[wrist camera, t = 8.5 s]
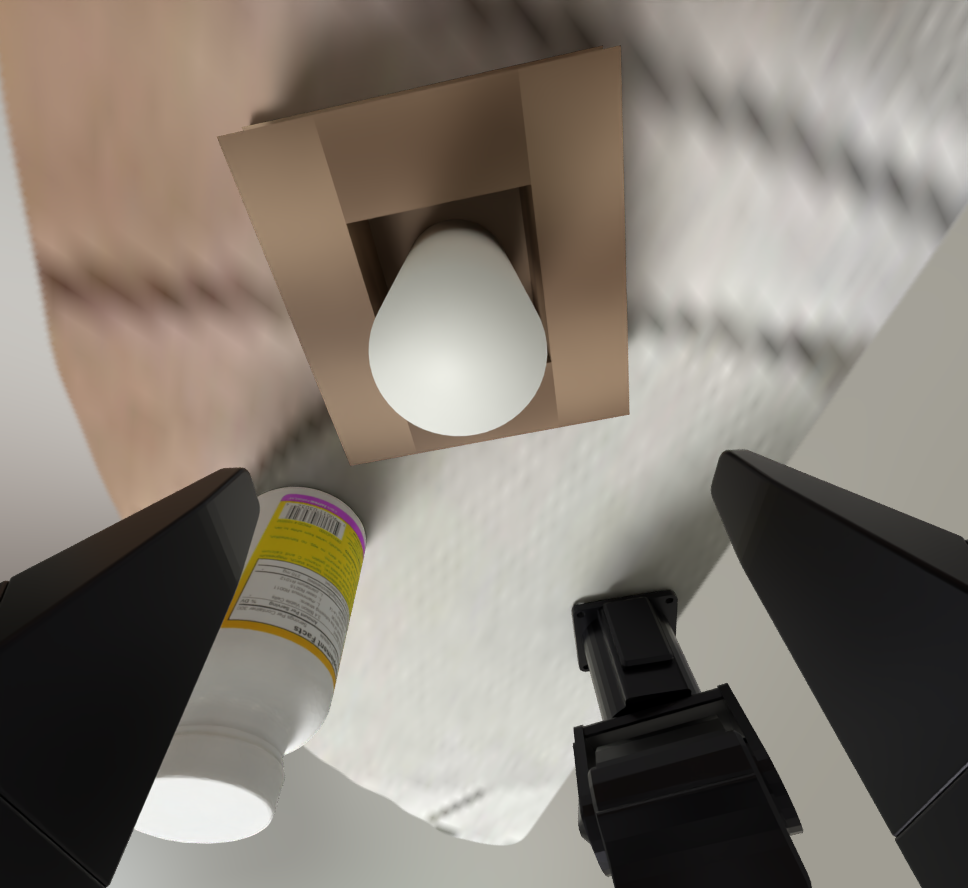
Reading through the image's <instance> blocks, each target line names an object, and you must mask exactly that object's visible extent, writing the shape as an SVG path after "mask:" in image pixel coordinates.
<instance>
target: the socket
mask: <svg viewBox="0 0 968 888" xmlns="http://www.w3.org/2000/svg"><path fill="white" fill-rule="evenodd" d="M242 129H243V131H240V132H236V133H232V134H227V135H223V136H218V137H217V139H218V141H219V144H220V146H221V149H222V151H223V153H224V156H225V158H226V161H227V163H228V166H229V168H230V171H231V173H232V176H233V178H234V181H235V183H236V185H237V188H238V190H239V193H240V195H241V198H242V200H243V203H244V205H245V208H246V210H247V213H248V215H249V217H250V220H251V222H252V225H253V227H254V230H255V232H256V235H257V237H258V240H259V242H260V245H261V247H262V250H263V252H264V254H265V257H266V259H267V262H268V264H269V267H270V269H271V272H272V274H273V277H274V279H275V282H276V284H277V286H278V289H279V291H280V294H281V296H282V299H283V301H284V304H285V306H286V309H287V311H288V314H289V316H290V318H291V321H292V323H293V326H294V328H295V331H296V333H297V336H298V338H299V341H300V343H301V346H302V348H303V350H304V353H305V355H306V358H307V360H308V363H309V365H310V368H311V370H312V373H313V375H314V378H315V380H316V383H317V385H318V387H319V390H320V392H321V395H322V397H323V400H324V402H325V405H326V407H327V410H328V412H329V415H330V417H331V419H332V422H333V424H334V427H335V429H336V432H337V434H338V437H339V439H340V442H341V444H342V447H343V449H344V451H345V454H346V456H347V459H348V461H349V464H350V466H353V465H358V464H363V463H369V462H374V461H380V460H385V459H391V458H396V457H401V456H407V455H412V454H418V453H423V452H428V451H434V450H439V449H445V448H450V447H456V446H461V445H466V444H472V443H477V442H483V441H488V440H494V439H499V438H504V437H510V436H515V435H521V434H526V433H532V432H537V431H542V430H548V429H553V428H559V427H564V426H569V425H575V424H580V423H586V422H591V421H597V420H602V419H607V418H613V417H618V416H624V415H629V376H628V334H627V292H626V250H625V207H624V165H623V123H622V81H621V45H620V46H615V47H611V48H607V49H603V45H602V46H598V47H594V48H589V49H585V50H580V51H576V52H572V53H567V54H563V55H558V56H554V57H550V58H545V59H541V60H536V61H532V62H528V63H523V64H519V65H514V66H510V67H506V68H501V69H497V70H492V71H488V72H484V73H479V74H475V75H470V76H466V77H462V78H457V79H453V80H448V81H444V82H439V83H435V84H431V85H426V86H422V87H417V88H413V89H409V90H404V91H400V92H395V93H391V94H387V95H382V96H378V97H373V98H369V99H365V100H360V101H356V102H351V103H347V104H343V105H338V106H334V107H329V108H325V109H321V110H316V111H312V112H307V113H303V114H299V115H294V116H290V117H285V118H281V119H277V120H272V121H268V122H263V123H259V124H254V125H250V126H246V127H242ZM451 219H463V220H468V221H472V222H475V223H477V224H479V225H481V226H483V227H484V228H486V229H487V230H489V231H490V232H491V233H492V234H493V235H494V236H495V237H496V238H497V240H498V241H499V243H500V244H501V246H502V247H503V249H504V251H505V253H506V255H507V257H508V259H509V261H510V262H511V264H512V266H513V268H514V270H515V272H516V274H517V276H518V277H519V279H520V281H521V283H522V285H523V287H524V289H525V291H526V293H527V294H528V296H529V298H530V300H531V302H532V304H533V306H534V308H535V309H536V311H537V313H538V316H539V318H540V320H541V322H542V325H543V328H544V331H545V336H546V341H547V362H546V368H545V372H544V376H543V379H542V382H541V384H540V386H539V388H538V390H537V392H536V394H535V396H534V397H533V398H532V400H531V401H530V403H529V404H528V405H527V406H526V407H525V408H524V409H523V410H522V411H521V412H520V413H519V414H518V415H517V416H516V417H514V418H513V419H512V420H510V421H509V422H507V423H506V424H504V425H502V426H500V427H498V428H496V429H493V430H490V431H488V432H485V433H480V434H476V435H469V436H449V435H442V434H437V433H433V432H430V431H427V430H424V429H422V428H420V427H418V426H416V425H414V424H412V423H410V422H409V421H407V420H406V419H404V418H403V417H402V416H400V415H399V414H398V413H397V412H396V411H395V410H394V409H393V408H392V407H391V406H390V405H389V404H388V403H387V401H386V400H385V399H384V397H383V396H382V394H381V393H380V391H379V389H378V387H377V385H376V383H375V380H374V378H373V375H372V371H371V367H370V361H369V339H370V333H371V329H372V326H373V323H374V320H375V318H376V316H377V314H378V312H379V310H380V308H381V306H382V304H383V302H384V300H385V298H386V296H387V294H388V292H389V290H390V288H391V287H392V285H393V283H394V281H395V279H396V277H397V275H398V273H399V271H400V269H401V267H402V265H403V264H404V262H405V260H406V258H407V256H408V254H409V252H410V250H411V248H412V246H413V244H414V243H415V241H416V240H417V238H418V237H419V236H420V235H421V234H422V233H423V232H424V231H425V230H427V229H428V228H429V227H431V226H433V225H434V224H437V223H439V222H442V221H445V220H451Z"/></svg>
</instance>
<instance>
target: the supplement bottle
mask: <svg viewBox="0 0 968 888" xmlns="http://www.w3.org/2000/svg"><path fill="white" fill-rule="evenodd" d="M258 500H259V503H260V514H259V518H258V522H257V525H256V528H255V532H254V535H253V539H252V542H251V545H250V549H249V552H248V555H247V559H246V562H245V565H244V569H243V572H242V575H241V578H240V581H239V584H238V587H237V589H236V592H235V594H234V597H233V599H232V602H231V604H230V606H229V609H228V611H227V613H226V616H225V618H224V620H223V623H222V625H221V627H220V630H219V632H218V634H217V637H216V639H215V641H214V643H213V646H212V648H211V650H210V653H209V655H208V657H207V660H206V662H205V664H204V667H203V669H202V671H201V674H200V676H199V678H198V681H197V683H196V685H195V688H194V690H193V692H192V695H191V697H190V699H189V702H188V704H187V706H186V709H185V711H184V713H183V716H182V718H181V720H180V723H179V725H178V727H177V730H176V732H175V734H174V737H173V739H172V741H171V744H170V746H169V748H168V750H167V753H166V755H165V757H164V760H163V762H162V764H161V767H160V769H159V771H158V774H157V776H156V778H155V781H154V783H153V785H152V788H151V790H150V792H149V795H148V797H147V799H146V802H145V804H144V806H143V809H142V811H141V813H140V816H139V818H138V820H137V823H136V825H135V827H134V829H135V830H138V831H140V832H143V833H146V834H149V835H152V836H155V837H159V838H162V839H166V840H172V841H178V842H186V843H223V842H230V841H236V840H239V839H243V838H246V837H250V836H252V835H254V834H256V833H258V832H260V831H262V830H263V829H264V828H266V827H267V826H268V825H269V823H270V822H271V820H272V818H273V816H274V813H275V809H276V806H277V802H278V799H279V795H280V792H281V789H282V786H283V783H284V780H285V774H284V769H283V768H284V763H283V756H284V755H286V754H288V753H290V752H292V751H294V750H296V749H298V748H299V747H301V746H302V745H304V744H305V743H306V742H308V741H309V740H310V739H311V738H312V737H313V736H314V735H315V734H316V732H317V731H318V730H319V729H320V727H321V726H322V724H323V723H324V721H325V719H326V717H327V715H328V712H329V709H330V706H331V701H332V697H333V693H334V689H335V684H336V679H337V675H338V670H339V665H340V661H341V656H342V652H343V647H344V643H345V639H346V634H347V630H348V625H349V621H350V616H351V612H352V608H353V603H354V599H355V594H356V590H357V585H358V581H359V577H360V572H361V568H362V563H363V559H364V553H365V548H366V536H365V531H364V528H363V525H362V523H361V521H360V520H359V518H358V517H357V515H356V514H355V513H354V512H353V511H352V509H351V508H349V507H348V506H347V505H346V504H345V503H344V502H342V501H341V500H339V499H338V498H336V497H334V496H332V495H330V494H328V493H325V492H323V491H319V490H316V489H311V488H305V487H285V488H279V489H275V490H271V491H268V492H266V493H264V494H261V495H259V496H258Z"/></svg>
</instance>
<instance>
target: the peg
mask: <svg viewBox="0 0 968 888" xmlns="http://www.w3.org/2000/svg"><path fill="white" fill-rule="evenodd" d="M369 361H370V367H371V371H372V375H373V378H374V380H375V383H376V385H377V387H378V389H379V391H380V393H381V394H382V396H383V397H384V399H385V400H386V401H387V403H388V404H389V405H390V406H391V407H392V408H393V409H394V410H395V411H396V412H397V413H398V414H399V415H400V416H402V417H403V418H404V419H406V420H407V421H409V422H410V423H412V424H414V425H416V426H418V427H420V428H422V429H424V430H427V431H430V432H433V433H437V434H442V435H449V436H469V435H476V434H480V433H485V432H488V431H490V430H493V429H496V428H498V427H500V426H502V425H504V424H506V423H507V422H509V421H510V420H512V419H513V418H514V417H516V416H517V415H518V414H519V413H520V412H521V411H522V410H523V409H524V408H525V407H526V406H527V405H528V404H529V403H530V401H531V400H532V398H533V397H534V396H535V394H536V392H537V390H538V388H539V386H540V384H541V382H542V379H543V376H544V372H545V368H546V362H547V341H546V336H545V331H544V328H543V325H542V322H541V320H540V318H539V316H538V313H537V311H536V309H535V308H534V306H533V304H532V302H531V300H530V298H529V296H528V294H527V293H526V291H525V289H524V287H523V285H522V283H521V281H520V279H519V277H518V276H517V274H516V272H515V270H514V268H513V266H512V264H511V262H510V261H509V259H508V257H507V255H506V253H505V251H504V249H503V247H502V246H501V244H500V243H499V241H498V240H497V238H496V237H495V236H494V235H493V234H492V233H491V232H490V231H489V230H487V229H486V228H484V227H483V226H481V225H479V224H477V223H475V222H472V221H468V220H463V219H451V220H445V221H442V222H439V223H437V224H434V225H433V226H431V227H429V228H428V229H427V230H425V231H424V232H423V233H422V234H421V235H420V236H419V237H418V238H417V240H416V241H415V243H414V244H413V246H412V248H411V250H410V252H409V254H408V256H407V258H406V260H405V262H404V264H403V265H402V267H401V269H400V271H399V273H398V275H397V277H396V279H395V281H394V283H393V285H392V287H391V288H390V290H389V292H388V294H387V296H386V298H385V300H384V302H383V304H382V306H381V308H380V310H379V312H378V314H377V316H376V318H375V320H374V323H373V326H372V329H371V333H370V339H369Z"/></svg>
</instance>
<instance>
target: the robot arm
mask: <svg viewBox="0 0 968 888" xmlns="http://www.w3.org/2000/svg"><path fill="white" fill-rule="evenodd" d="M711 494H712V498H713V501H714V503H715V505H716V508H717V510H718V513H719V515H720V517H721V520H722V522H723V524H724V527H725V529H726V531H727V534H728V536H729V539H730V541H731V543H732V546H733V548H734V550H735V552H736V555H737V557H738V559H739V561H740V563H741V565H742V567H743V569H744V571H745V573H746V575H747V576H748V578H749V580H750V582H751V584H752V585H753V587H754V589H755V591H756V592H757V594H758V596H759V598H760V600H761V602H762V603H763V605H764V607H765V608H766V610H767V612H768V614H769V616H770V618H771V619H772V621H773V623H774V625H775V627H776V628H777V630H778V632H779V634H780V635H781V637H782V639H783V641H784V642H785V644H786V646H787V648H788V650H789V651H790V653H791V655H792V657H793V659H794V660H795V662H796V664H797V666H798V668H799V669H800V671H801V673H802V675H803V676H804V678H805V680H806V682H807V684H808V685H809V687H810V689H811V691H812V692H813V694H814V696H815V698H816V699H817V701H818V703H819V705H820V707H821V708H822V710H823V712H824V714H825V716H826V717H827V719H828V721H829V723H830V724H831V726H832V728H833V730H834V731H835V733H836V735H837V737H838V739H839V741H840V742H841V744H842V746H843V748H844V749H845V751H846V753H847V755H848V757H849V758H850V760H851V762H852V764H853V765H854V767H855V769H856V771H857V773H858V774H859V776H860V778H861V780H862V782H863V783H864V785H865V787H866V789H867V790H868V792H869V794H870V796H871V798H872V799H873V801H874V803H875V804H876V806H877V808H878V810H879V812H880V814H881V815H882V817H883V819H884V821H885V823H886V824H887V826H888V828H889V830H890V831H891V833H892V835H893V836H895V837H896V838H895V841H896V843H897V844H898V846H899V848H900V850H901V852H902V854H903V855H904V857H905V859H906V861H907V862H908V864H909V866H910V868H911V870H912V871H913V873H914V875H915V877H916V878H917V880H918V882H919V884H920V886H921V887H922V888H968V540H964V538H963V537H961V536H959V535H957V534H954V533H952V532H949V531H947V530H944V529H941V528H939V527H937V526H934V525H932V524H929V523H927V522H924V521H922V520H919V519H917V518H914V517H912V516H909V515H907V514H904V513H902V512H899V511H897V510H895V509H892V508H890V507H887V506H885V505H882V504H880V503H877V502H875V501H872V500H870V499H867V498H865V497H862V496H860V495H858V494H855V493H852V492H850V491H848V490H845V489H843V488H840V487H837V486H835V485H833V484H830V483H828V482H825V481H823V480H820V479H818V478H816V477H813V476H811V475H808V474H806V473H803V472H801V471H798V470H796V469H793V468H791V467H788V466H786V465H783V464H781V463H778V462H776V461H773V460H771V459H768V458H766V457H764V456H761V455H759V454H756V453H754V452H751V451H749V450H743V449H742V450H726V451H724V452H723V453H722V454H721V455H720V457H719V460H718V464H717V467H716V471H715V474H714V478H713V481H712V485H711ZM259 514H260V503H259V500H258V497H257V494H256V491H255V488H254V485H253V482H252V478H251V475H250V473H249V472H248V470H246V469H245V468H223V469H220V470H218V471H216V472H214V473H212V474H210V475H208V476H206V477H204V478H202V479H200V480H199V481H197V482H195V483H193V484H191V485H189V486H187V487H185V488H183V489H181V490H179V491H177V492H175V493H173V494H172V495H170V496H168V497H166V498H164V499H162V500H160V501H158V502H156V503H154V504H152V505H150V506H148V507H146V508H144V509H143V510H141V511H139V512H137V513H135V514H133V515H131V516H129V517H127V518H125V519H123V520H121V521H119V522H117V523H115V524H114V525H112V526H110V527H108V528H106V529H104V530H102V531H100V532H98V533H96V534H94V535H92V536H90V537H88V538H86V539H85V540H83V541H81V542H79V543H77V544H75V545H73V546H71V547H69V548H67V549H65V550H63V551H61V552H60V553H58V554H56V555H54V556H52V557H50V558H48V559H46V560H44V561H42V562H40V563H38V564H36V565H34V566H32V567H31V568H28V569H27V570H25V571H23V572H21V573H19V574H17V575H15V576H13V577H12V578H11V579H10V581H3V582H1V583H0V888H106V887H108V886H109V885H110V883H111V880H112V878H113V876H114V874H115V871H116V869H117V867H118V864H119V862H120V860H121V857H122V855H123V853H124V850H125V848H126V846H127V844H128V841H129V839H130V837H131V834H132V832H133V829H134V827H135V825H136V823H137V820H138V818H139V816H140V813H141V811H142V809H143V806H144V804H145V802H146V799H147V797H148V795H149V792H150V790H151V788H152V785H153V783H154V781H155V778H156V776H157V774H158V771H159V769H160V767H161V764H162V762H163V760H164V757H165V755H166V753H167V750H168V748H169V746H170V744H171V741H172V739H173V737H174V734H175V732H176V730H177V727H178V725H179V723H180V720H181V718H182V716H183V713H184V711H185V709H186V706H187V704H188V702H189V699H190V697H191V695H192V692H193V690H194V688H195V685H196V683H197V681H198V678H199V676H200V674H201V671H202V669H203V667H204V664H205V662H206V660H207V657H208V655H209V653H210V650H211V648H212V646H213V643H214V641H215V639H216V637H217V634H218V632H219V630H220V627H221V625H222V623H223V620H224V618H225V616H226V613H227V611H228V609H229V606H230V604H231V602H232V599H233V597H234V594H235V592H236V589H237V587H238V584H239V581H240V578H241V575H242V572H243V569H244V565H245V562H246V559H247V555H248V552H249V549H250V545H251V542H252V539H253V535H254V532H255V528H256V525H257V522H258V518H259ZM677 600H678V599H677V596H676V594H675V592H673V591H672V590H665V591H659V592H653V593H647V594H641V595H635V596H628V597H622V598H616V599H610V600H604V601H598V602H592V603H586V604H580V605H576V606H574V607H573V608H572V619H573V627H574V635H575V642H576V650H577V658H578V664H579V668H580V670H581V671H584V672H587V671H590V674H591V678H592V681H593V685H594V689H595V693H596V697H597V701H598V704H599V708H600V712H601V716H602V720H603V721H601V722H597V723H594V724H590V725H587V726H583V725H580V726H577V727H574V738H575V743H573V749H574V758H575V767H576V776H577V786H578V795H579V807H578V826H579V831H580V834H581V836H582V837H583V838H584V839H585V840H586V841H587V842H588V843H590V844H591V846H592V849H593V851H594V853H595V855H596V858H597V860H598V863H599V865H600V867H601V869H602V871H603V873H604V874H605V875H606V876H608V877H609V876H612V879H613V883H614V887H615V888H812V886H811V881H810V878H809V876H808V873H807V871H806V869H805V867H804V865H803V863H802V861H801V858H800V856H799V855H798V852H797V850H796V848H795V846H794V844H793V842H792V840H791V837H790V835H795V834H799V833H803V829H802V825H801V823H800V820H799V818H798V815H797V813H796V811H795V808H794V806H793V804H792V802H791V799H790V797H789V795H788V793H787V791H786V789H785V787H784V785H783V783H782V780H781V779H780V777H779V774H778V773H777V771H776V769H775V767H774V765H773V763H772V761H771V759H770V757H769V755H768V754H767V752H766V750H765V748H764V746H763V745H762V743H761V741H760V739H759V738H758V736H757V734H756V732H755V731H754V729H753V727H752V725H751V724H750V722H749V720H748V718H747V717H746V715H745V713H744V711H743V710H742V708H741V706H740V704H739V703H738V701H737V699H736V697H735V695H734V694H733V692H732V690H731V688H730V687H729V685H728V683H725V684H722V685H719V686H717V687H718V688H715V689H712V690H708V691H705V692H701V691H700V689H699V687H698V684H697V682H696V680H695V678H694V676H693V674H692V672H691V669H690V667H689V665H688V663H687V661H686V658H685V656H684V654H683V652H682V650H681V648H680V645H679V643H678V641H677V639H676V620H677Z"/></svg>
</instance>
